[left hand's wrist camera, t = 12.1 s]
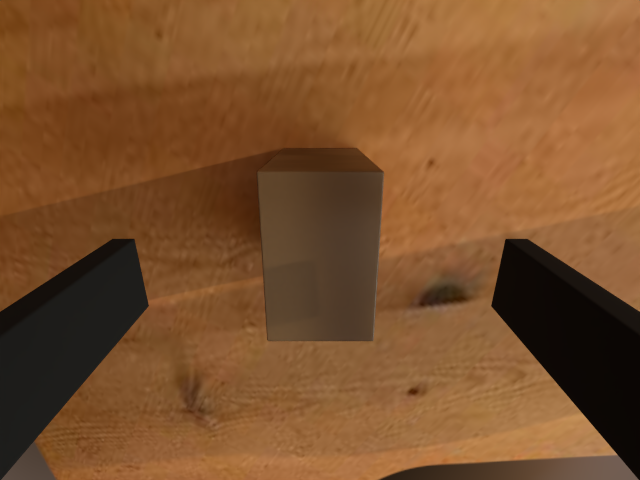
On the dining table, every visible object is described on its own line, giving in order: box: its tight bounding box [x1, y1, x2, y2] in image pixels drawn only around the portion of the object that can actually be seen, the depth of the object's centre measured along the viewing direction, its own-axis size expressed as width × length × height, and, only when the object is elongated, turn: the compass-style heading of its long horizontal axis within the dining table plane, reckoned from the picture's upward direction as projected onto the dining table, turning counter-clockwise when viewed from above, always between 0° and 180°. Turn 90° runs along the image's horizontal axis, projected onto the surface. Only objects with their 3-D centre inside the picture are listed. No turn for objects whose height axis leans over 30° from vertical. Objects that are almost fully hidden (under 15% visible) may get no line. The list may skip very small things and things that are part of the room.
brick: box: [257, 148, 384, 341], centre depth 19 cm, size 5×8×10 cm, turn 0°
